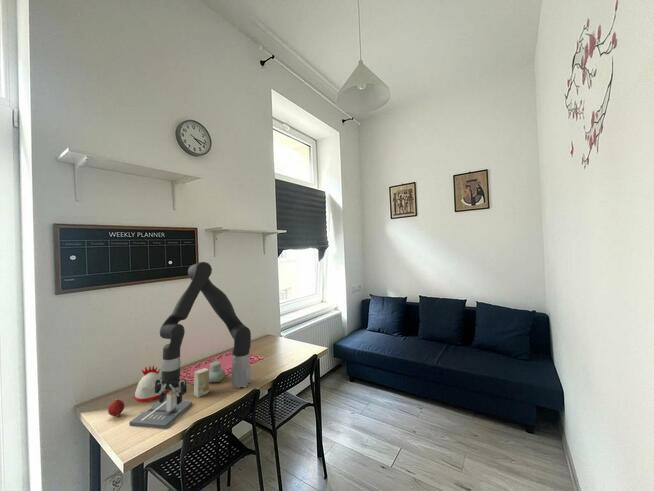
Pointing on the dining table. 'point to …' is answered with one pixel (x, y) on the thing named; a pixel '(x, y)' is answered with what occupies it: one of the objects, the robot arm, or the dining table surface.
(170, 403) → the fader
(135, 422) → the console
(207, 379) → the skincare box
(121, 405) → the onion
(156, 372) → the kitchen timer
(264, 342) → the dining table surface
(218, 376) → the air freshener
